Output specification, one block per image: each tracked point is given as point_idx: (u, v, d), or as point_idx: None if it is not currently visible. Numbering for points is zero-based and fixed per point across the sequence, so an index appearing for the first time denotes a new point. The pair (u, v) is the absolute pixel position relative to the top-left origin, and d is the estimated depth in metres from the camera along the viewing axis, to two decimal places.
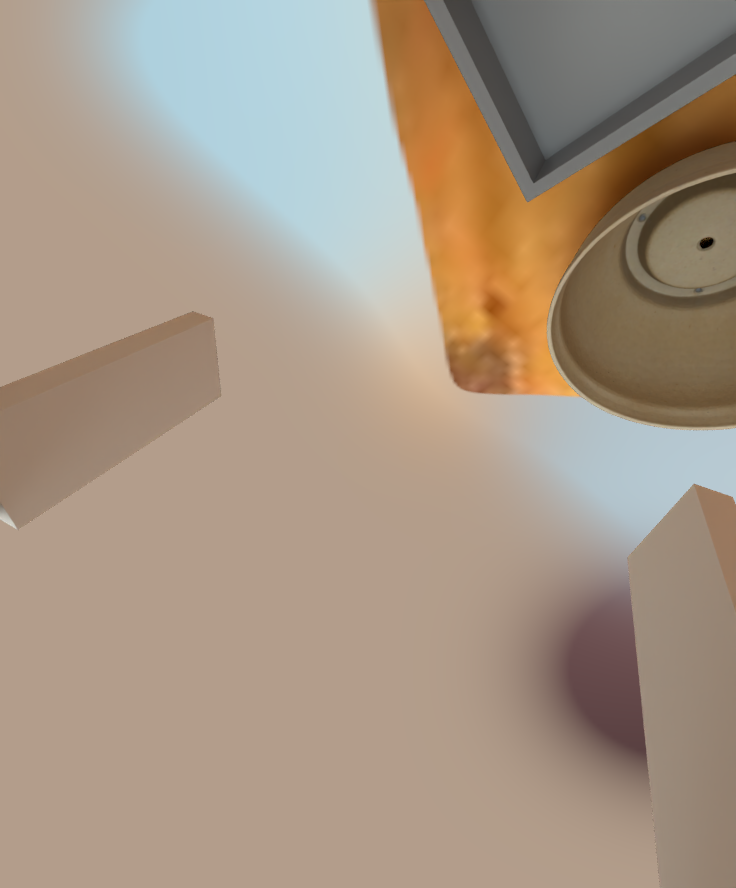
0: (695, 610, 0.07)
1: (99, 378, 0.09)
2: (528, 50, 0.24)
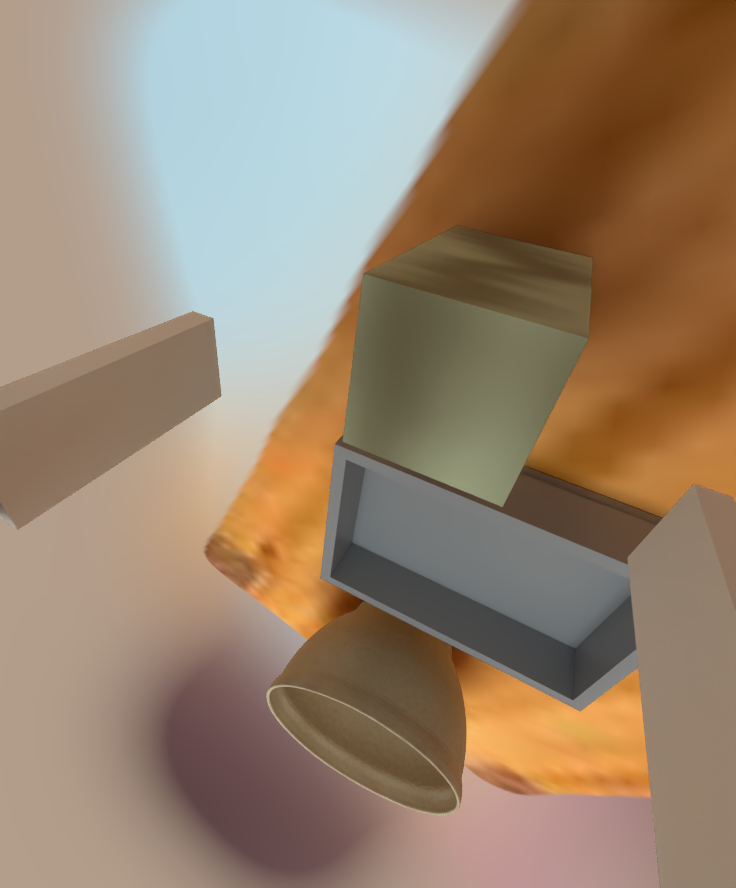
0: (695, 610, 0.07)
1: (99, 378, 0.09)
2: (379, 503, 0.29)
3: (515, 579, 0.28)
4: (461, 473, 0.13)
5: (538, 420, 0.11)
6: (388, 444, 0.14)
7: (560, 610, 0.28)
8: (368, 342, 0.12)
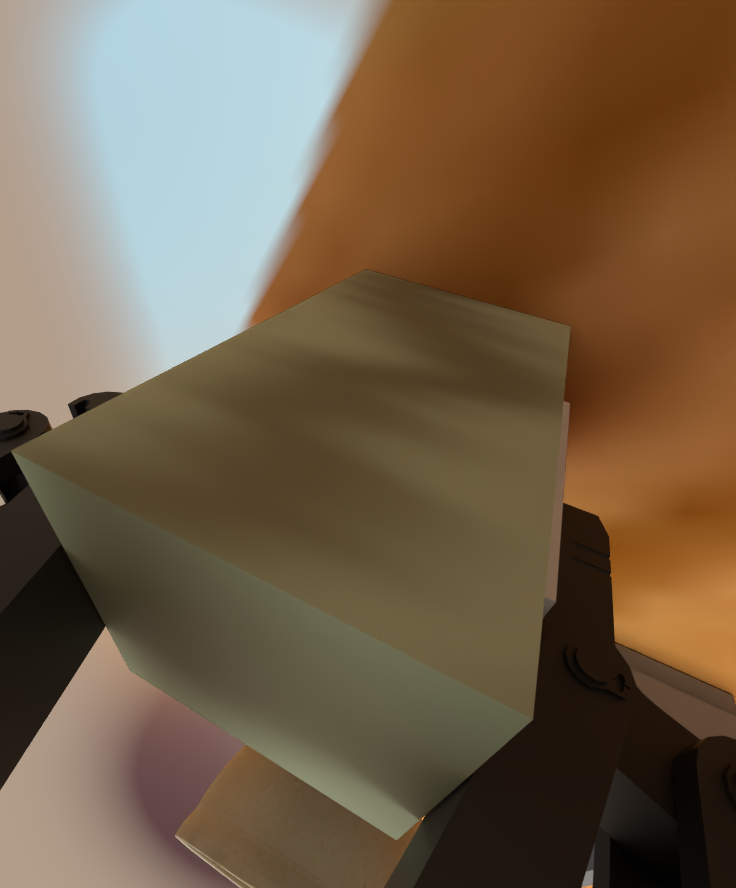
0: None
1: None
2: None
3: None
4: (317, 778, 0.07)
5: (434, 782, 0.05)
6: (192, 700, 0.08)
7: None
8: (87, 563, 0.06)
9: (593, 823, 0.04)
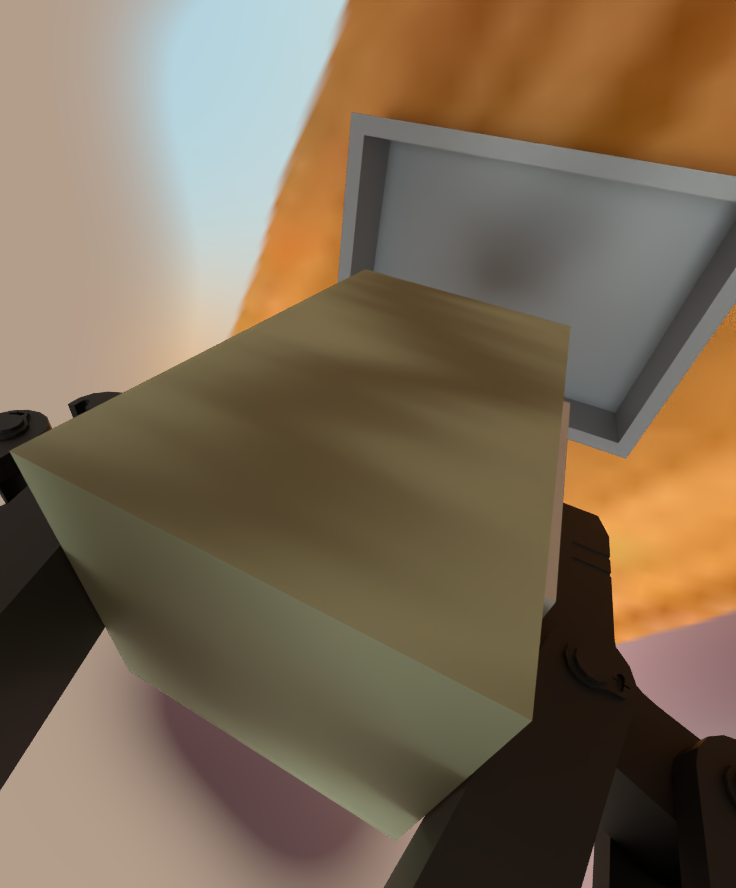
0: None
1: None
2: (397, 258, 0.27)
3: None
4: (316, 779, 0.07)
5: (433, 783, 0.05)
6: (191, 700, 0.08)
7: (600, 357, 0.25)
8: (86, 564, 0.06)
9: (593, 823, 0.04)
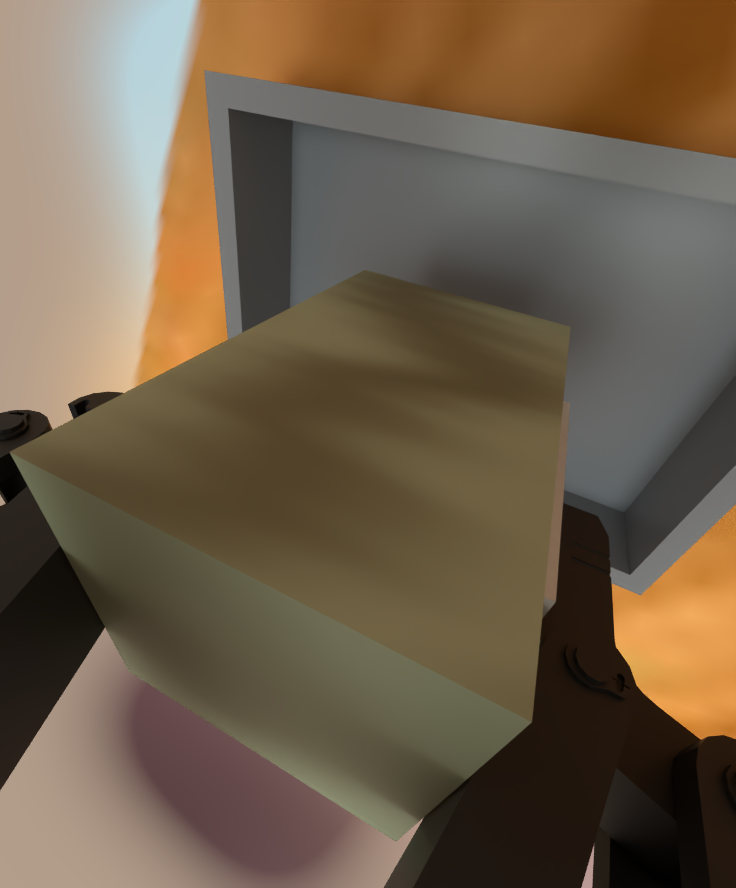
0: None
1: None
2: (319, 291, 0.19)
3: None
4: (316, 779, 0.07)
5: (434, 784, 0.05)
6: (191, 701, 0.08)
7: (603, 439, 0.17)
8: (86, 565, 0.06)
9: (592, 823, 0.04)
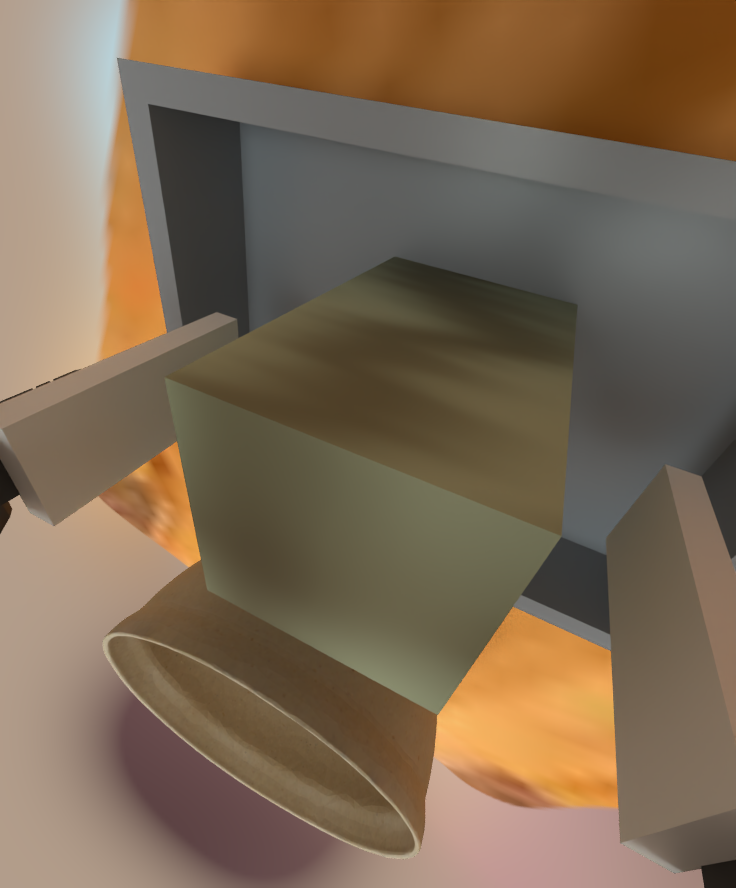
0: (661, 579, 0.08)
1: (132, 378, 0.09)
2: (279, 312, 0.17)
3: None
4: (373, 663, 0.08)
5: (480, 630, 0.06)
6: (266, 607, 0.09)
7: (600, 483, 0.15)
8: (202, 477, 0.07)
9: None
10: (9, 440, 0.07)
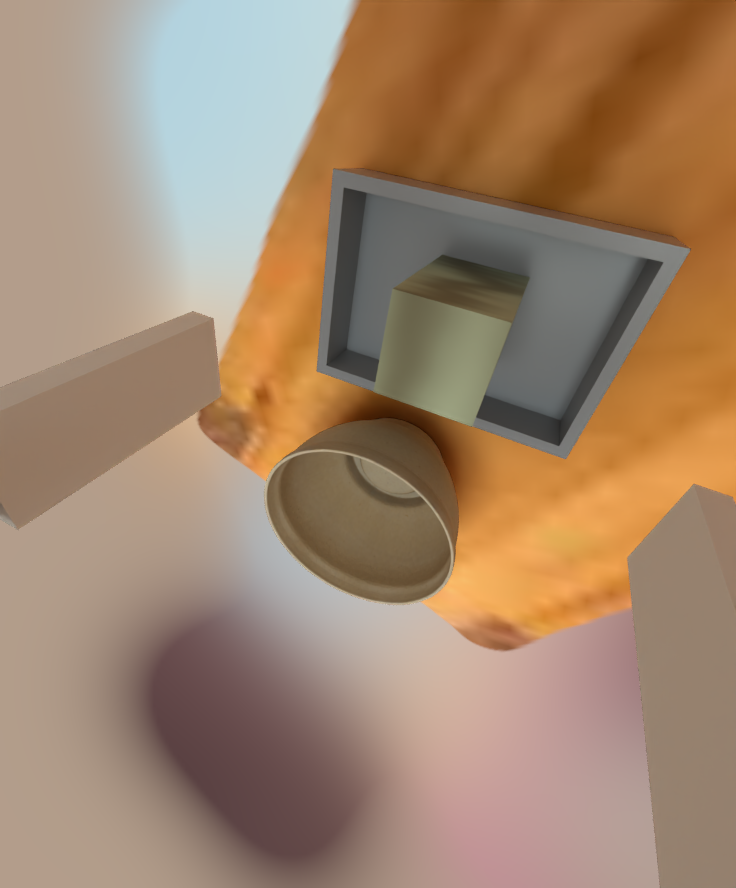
0: (695, 610, 0.07)
1: (99, 378, 0.09)
2: (374, 285, 0.31)
3: None
4: (447, 406, 0.22)
5: (489, 369, 0.20)
6: (403, 391, 0.23)
7: (545, 372, 0.29)
8: (393, 327, 0.21)
9: None
10: None
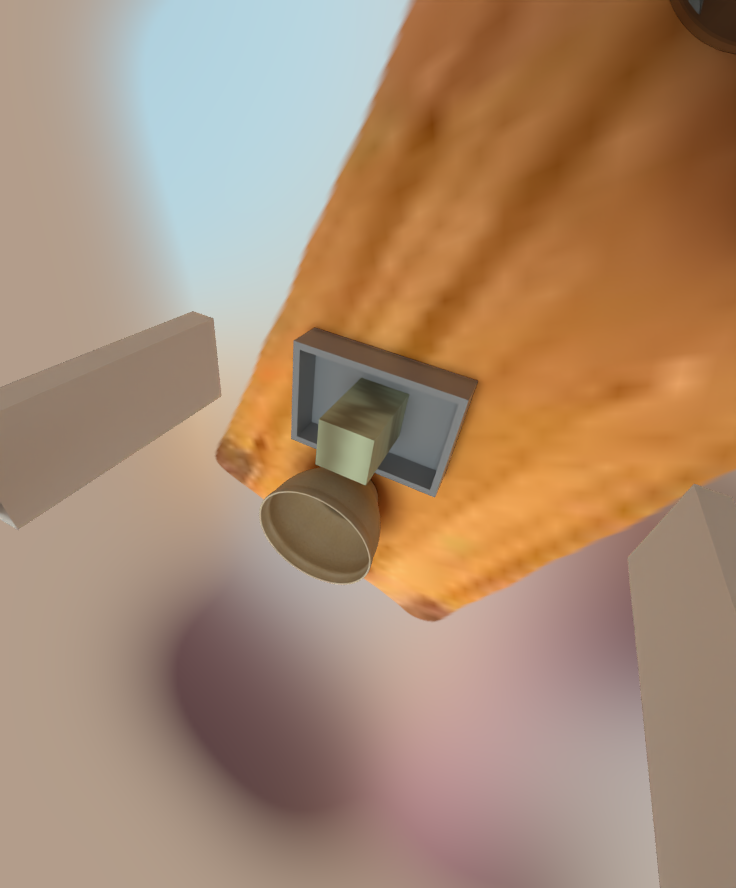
0: (695, 610, 0.07)
1: (99, 378, 0.09)
2: (324, 388, 0.50)
3: (401, 428, 0.49)
4: (352, 474, 0.42)
5: (368, 459, 0.40)
6: (330, 465, 0.43)
7: (426, 444, 0.49)
8: (321, 435, 0.41)
9: None
10: None
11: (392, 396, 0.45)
